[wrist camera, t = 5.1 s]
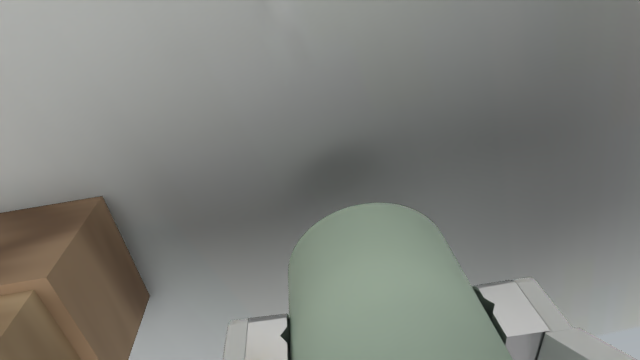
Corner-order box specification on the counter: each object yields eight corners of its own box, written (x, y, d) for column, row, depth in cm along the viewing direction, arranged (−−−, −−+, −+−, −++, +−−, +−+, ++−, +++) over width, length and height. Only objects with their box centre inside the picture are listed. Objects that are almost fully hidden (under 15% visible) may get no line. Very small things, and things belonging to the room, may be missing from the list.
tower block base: (102, 195, 17) (46, 277, 12) (150, 294, 20) (117, 389, 15) (-42, 219, 16) (-152, 311, 12) (28, 316, 19) (-39, 418, 15)
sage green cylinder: (452, 191, 11) (569, 357, 6) (442, 311, 13) (521, 489, 9) (275, 216, 10) (273, 402, 6) (299, 332, 13) (310, 522, 9)
